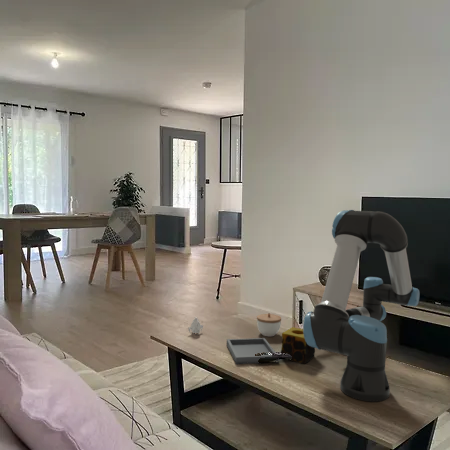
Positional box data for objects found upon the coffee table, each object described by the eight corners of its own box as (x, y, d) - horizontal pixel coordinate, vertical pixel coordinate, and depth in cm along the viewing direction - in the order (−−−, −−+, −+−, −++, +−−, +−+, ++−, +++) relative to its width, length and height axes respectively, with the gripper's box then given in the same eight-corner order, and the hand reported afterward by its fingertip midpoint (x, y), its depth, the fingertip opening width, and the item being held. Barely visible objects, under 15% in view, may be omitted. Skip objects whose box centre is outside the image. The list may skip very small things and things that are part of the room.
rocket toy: (200, 336, 192) (200, 318, 192) (188, 335, 193) (188, 317, 193) (203, 332, 198) (203, 314, 197) (191, 331, 199) (191, 313, 198)
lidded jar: (281, 338, 192) (282, 317, 191) (256, 337, 192) (257, 316, 191) (279, 330, 202) (280, 310, 202) (255, 330, 202) (256, 309, 202)
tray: (278, 362, 165) (278, 355, 165) (235, 364, 162) (236, 357, 162) (264, 343, 184) (264, 337, 184) (226, 345, 182) (226, 339, 181)
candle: (305, 365, 163) (306, 338, 162) (280, 358, 169) (281, 333, 168) (315, 356, 172) (316, 331, 171) (291, 351, 177) (292, 326, 176)
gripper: (379, 334, 176) (341, 344, 165) (333, 317, 197) (297, 325, 186) (380, 316, 175) (342, 324, 164) (334, 301, 196) (297, 307, 185)
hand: (318, 324), depth 175 cm, fingers open, 13 cm apart
